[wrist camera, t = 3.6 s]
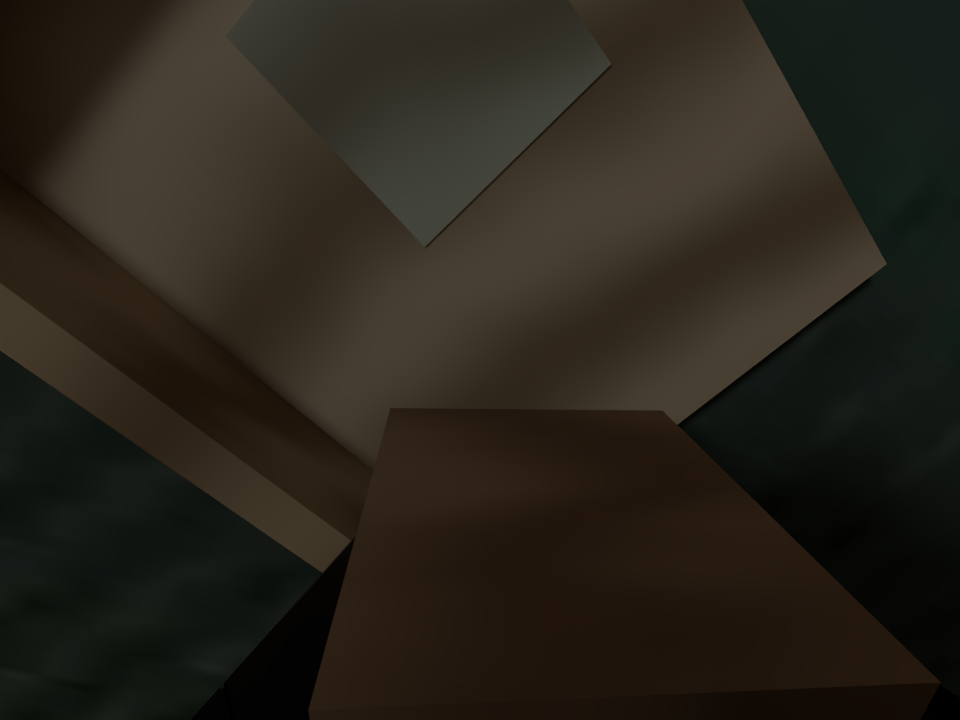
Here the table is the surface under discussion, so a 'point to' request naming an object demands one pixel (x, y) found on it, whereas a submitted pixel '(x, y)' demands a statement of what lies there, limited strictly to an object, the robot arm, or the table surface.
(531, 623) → the walnut block
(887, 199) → the table surface
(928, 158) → the table surface
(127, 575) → the table surface
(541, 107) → the board
